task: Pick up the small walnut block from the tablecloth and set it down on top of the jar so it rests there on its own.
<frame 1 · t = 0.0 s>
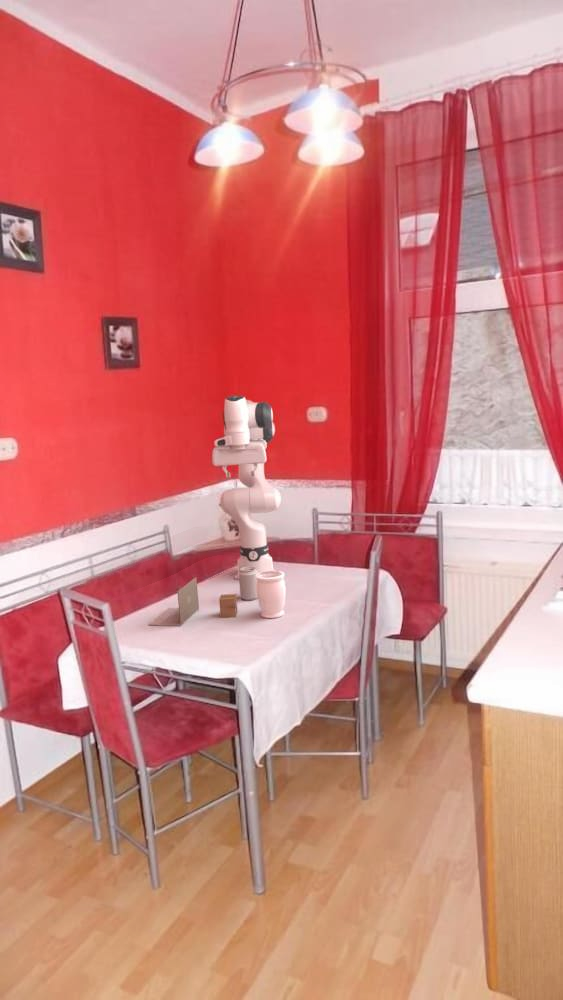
hand: (240, 476, 268), 48 cm above the table, fingers open, 8 cm apart
walnut block: (229, 615, 260), on the table
jar: (272, 615, 257), on the table
laptop: (174, 618, 261), on the table
can: (250, 598, 278), on the table
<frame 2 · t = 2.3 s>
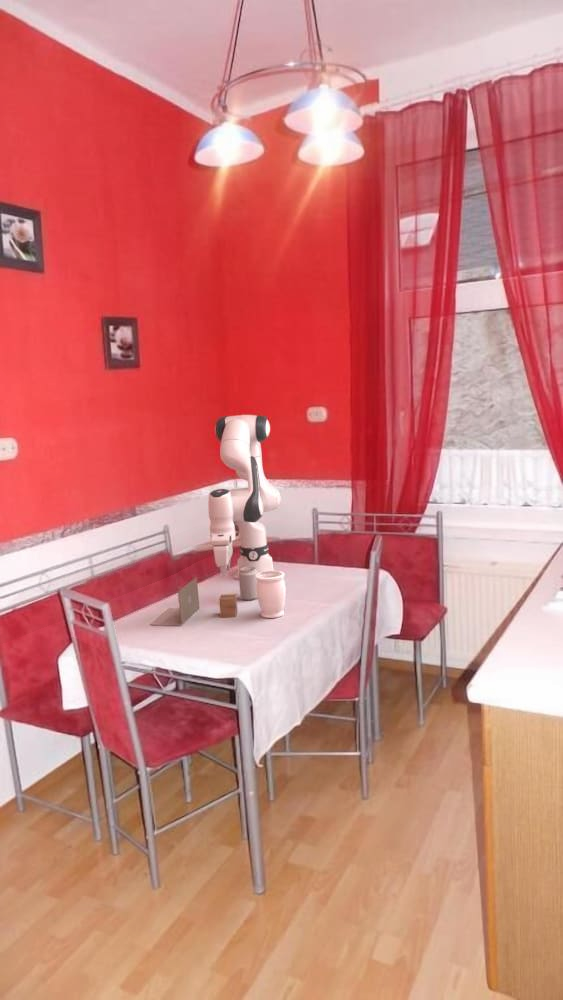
hand: (226, 573, 257), 16 cm above the table, fingers open, 8 cm apart
nothing on the table moved.
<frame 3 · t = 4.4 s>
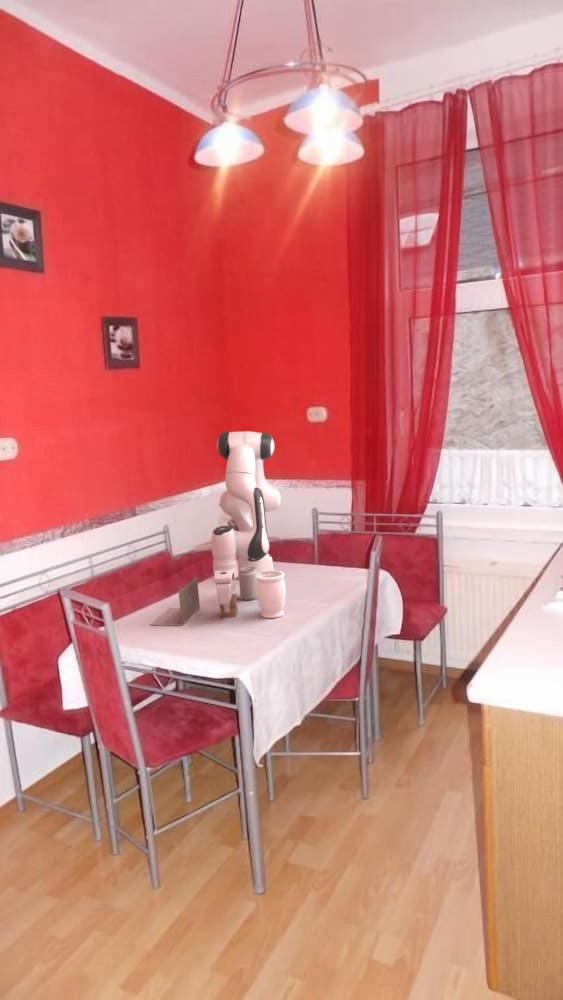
hand: (228, 608, 259), 2 cm above the table, fingers closed on walnut block, 5 cm apart
walnut block: (229, 614, 260), on the table, touching gripper
everything else where it was.
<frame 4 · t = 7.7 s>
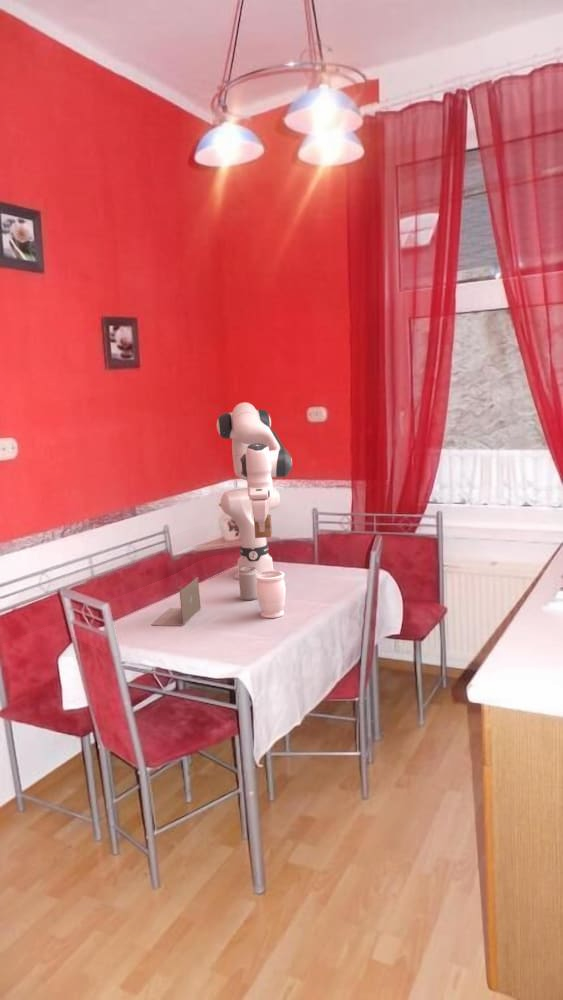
hand: (263, 529, 252), 31 cm above the table, fingers closed on walnut block, 5 cm apart
walnut block: (263, 535, 252), point 29 cm above the table, touching gripper
everything else where it was.
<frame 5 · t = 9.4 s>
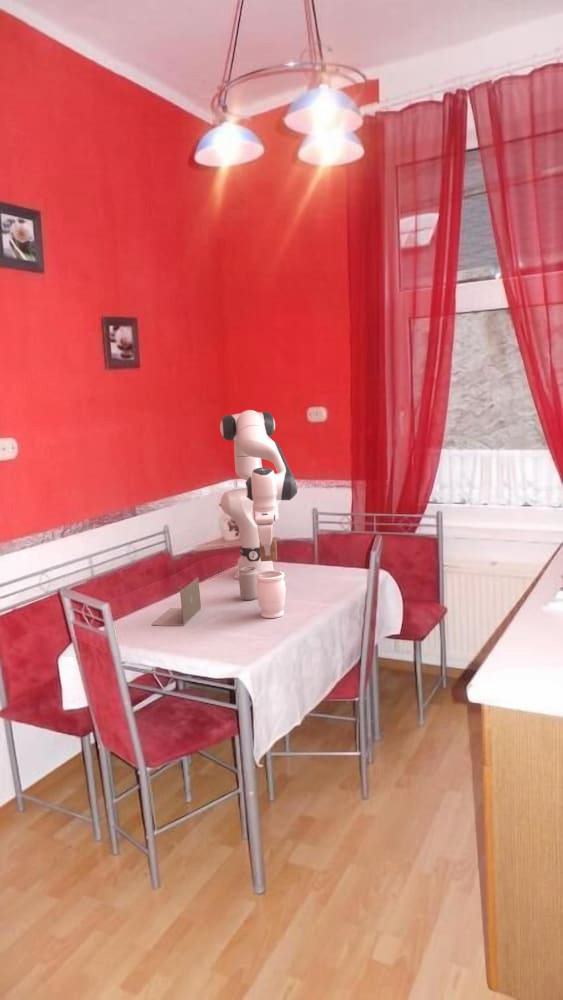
hand: (268, 552, 253), 23 cm above the table, fingers closed on walnut block, 5 cm apart
walnut block: (269, 559, 253), point 21 cm above the table, touching gripper
everything else where it was.
when the fingers open (19 cm above the table, at t = 11.1 s): walnut block drops 1 cm, resting on jar.
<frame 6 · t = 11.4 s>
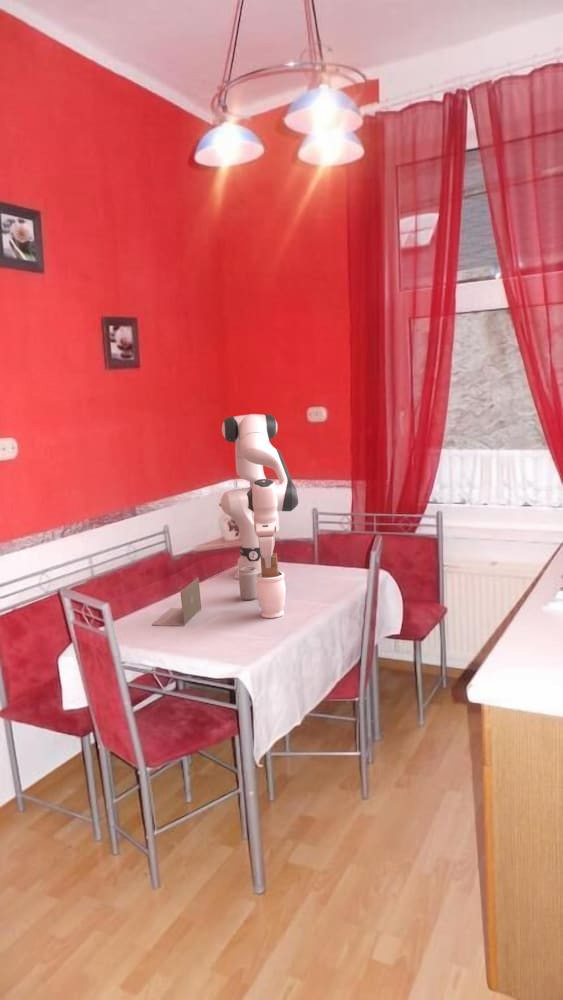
hand: (269, 563, 254), 19 cm above the table, fingers open, 8 cm apart
walnut block: (270, 574, 254), point 15 cm above the table, touching jar
jar: (272, 615, 257), on the table, touching walnut block
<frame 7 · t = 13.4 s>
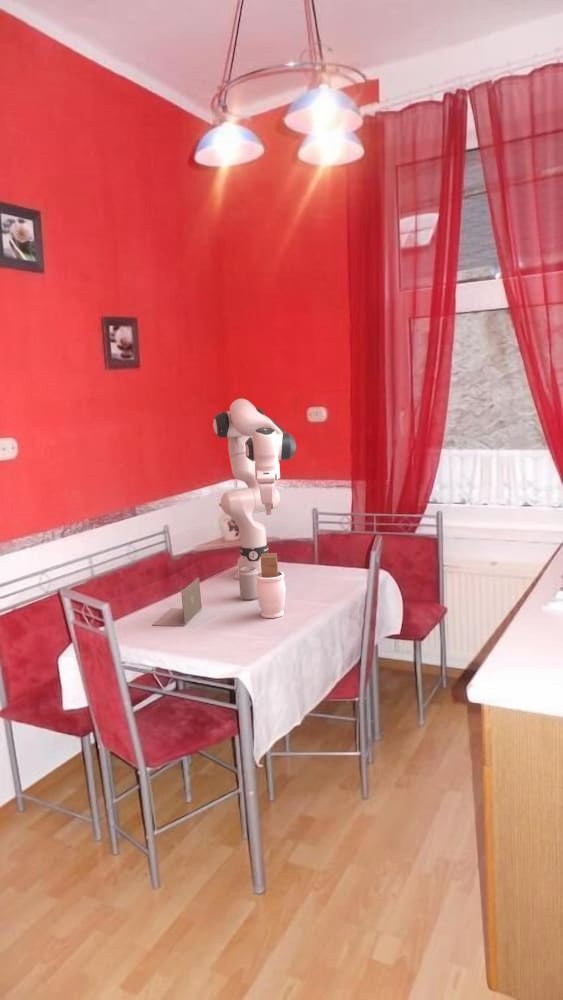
hand: (269, 511, 258), 36 cm above the table, fingers open, 8 cm apart
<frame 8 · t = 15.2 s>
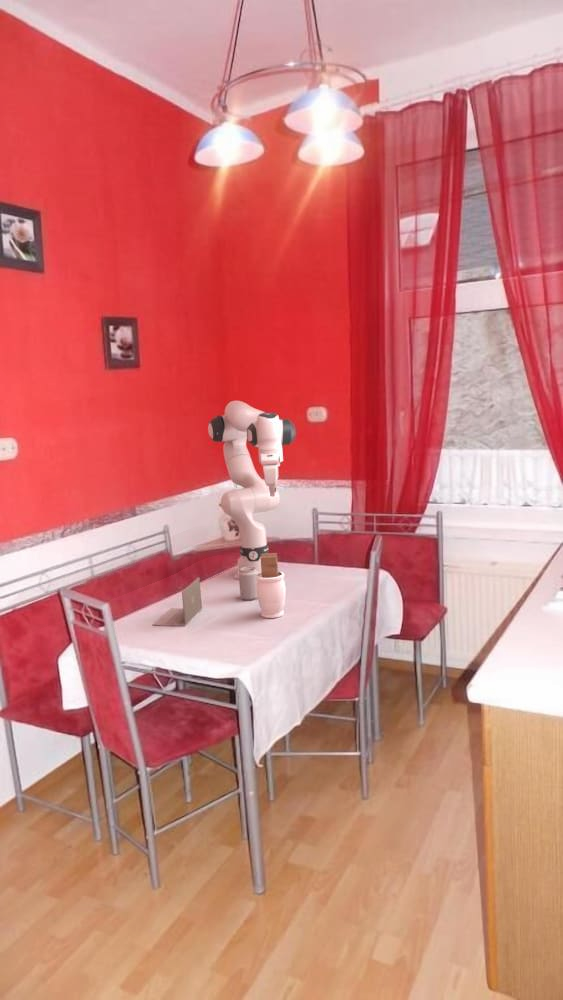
hand: (273, 494, 265), 41 cm above the table, fingers open, 8 cm apart
at the end: walnut block inside the target area on the jar (0.0 cm from its centre), point 15.2 cm above the jar's base; walnut block touching jar; the gripper is holding nothing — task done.
